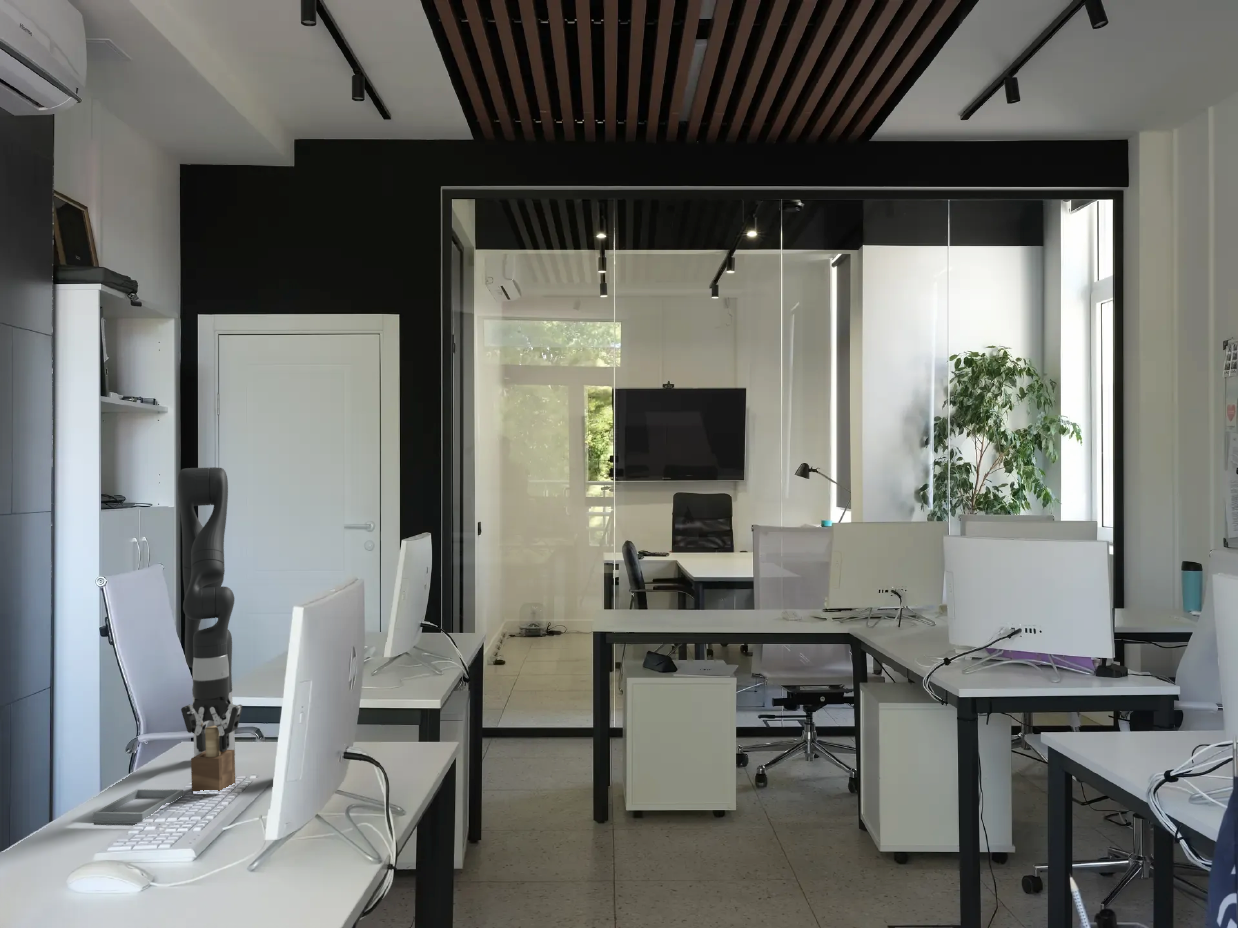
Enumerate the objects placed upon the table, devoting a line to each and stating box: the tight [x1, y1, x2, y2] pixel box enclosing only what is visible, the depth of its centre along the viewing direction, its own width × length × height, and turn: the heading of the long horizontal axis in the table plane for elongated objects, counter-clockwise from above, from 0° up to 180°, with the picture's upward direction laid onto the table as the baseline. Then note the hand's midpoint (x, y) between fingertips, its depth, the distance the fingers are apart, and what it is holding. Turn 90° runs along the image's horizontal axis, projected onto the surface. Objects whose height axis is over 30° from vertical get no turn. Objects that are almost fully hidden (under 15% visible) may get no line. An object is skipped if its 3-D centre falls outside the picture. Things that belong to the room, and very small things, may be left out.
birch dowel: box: [205, 726, 220, 757], centre depth 209 cm, size 3×3×14 cm
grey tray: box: [92, 788, 184, 827], centre depth 199 cm, size 14×11×2 cm
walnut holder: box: [190, 749, 236, 792], centre depth 209 cm, size 7×7×9 cm
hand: (212, 750), depth 209 cm, fingers open, 4 cm apart
